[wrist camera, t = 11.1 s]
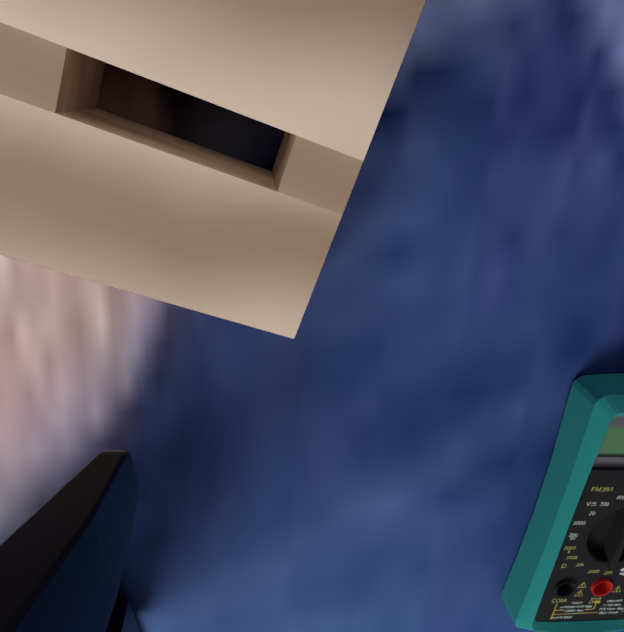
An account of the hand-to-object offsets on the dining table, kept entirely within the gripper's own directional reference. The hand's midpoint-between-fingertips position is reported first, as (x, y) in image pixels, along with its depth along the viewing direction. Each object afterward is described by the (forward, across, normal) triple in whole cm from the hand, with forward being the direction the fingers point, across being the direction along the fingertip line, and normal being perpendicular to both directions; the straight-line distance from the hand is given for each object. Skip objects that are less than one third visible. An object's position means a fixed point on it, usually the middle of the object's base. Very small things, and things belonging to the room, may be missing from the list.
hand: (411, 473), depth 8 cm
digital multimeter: (+12, -13, +16) cm, 24 cm away
